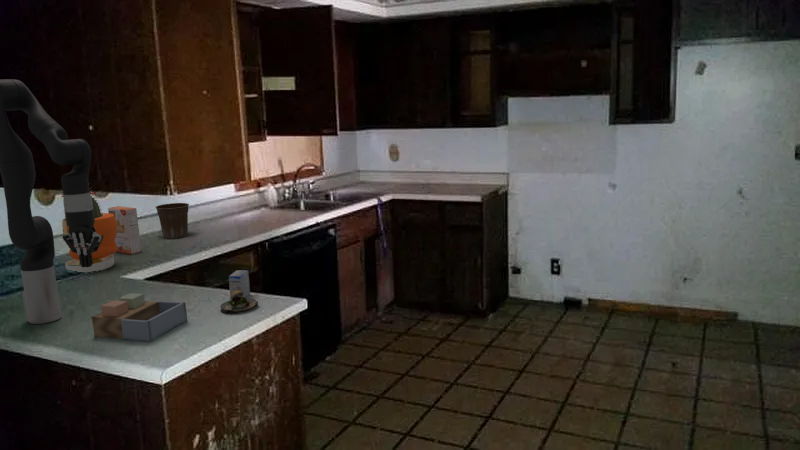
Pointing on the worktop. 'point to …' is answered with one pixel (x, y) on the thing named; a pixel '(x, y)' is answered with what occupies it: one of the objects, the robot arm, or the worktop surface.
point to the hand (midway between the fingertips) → (87, 266)
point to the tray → (155, 322)
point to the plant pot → (173, 219)
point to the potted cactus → (108, 246)
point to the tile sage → (133, 300)
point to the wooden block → (112, 324)
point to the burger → (238, 303)
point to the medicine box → (239, 282)
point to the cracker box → (126, 230)
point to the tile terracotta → (114, 308)
